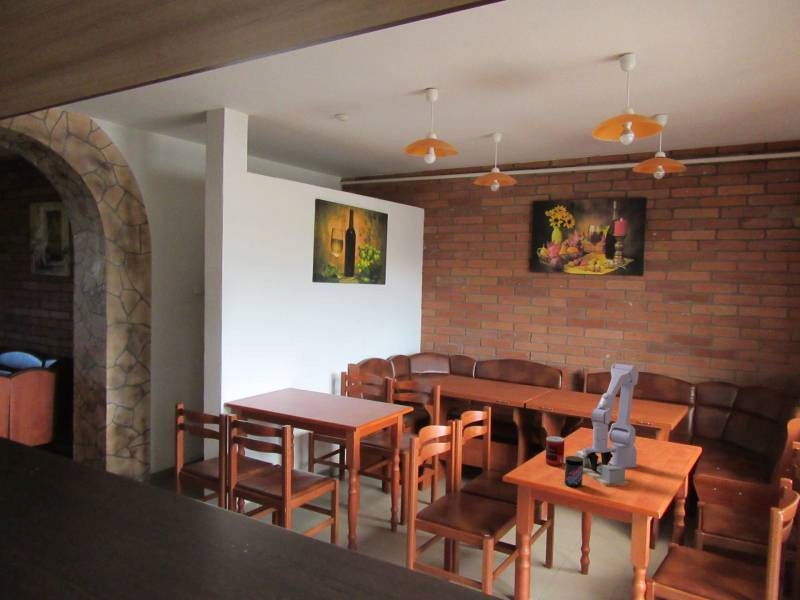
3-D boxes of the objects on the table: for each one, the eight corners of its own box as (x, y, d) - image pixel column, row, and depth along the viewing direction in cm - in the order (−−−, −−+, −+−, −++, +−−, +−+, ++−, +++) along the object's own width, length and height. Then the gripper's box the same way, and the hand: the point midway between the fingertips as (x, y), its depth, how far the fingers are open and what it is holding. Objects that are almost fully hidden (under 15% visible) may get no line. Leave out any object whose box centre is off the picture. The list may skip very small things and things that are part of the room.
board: (569, 464, 249) (569, 462, 249) (590, 463, 251) (590, 460, 251) (606, 486, 223) (606, 483, 223) (628, 484, 226) (628, 482, 226)
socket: (601, 478, 229) (602, 465, 229) (616, 477, 231) (617, 464, 230) (609, 483, 224) (610, 469, 224) (624, 482, 225) (625, 468, 225)
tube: (579, 463, 247) (579, 453, 247) (587, 462, 248) (587, 453, 248) (605, 478, 229) (605, 468, 229) (614, 477, 230) (614, 467, 230)
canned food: (562, 461, 253) (563, 436, 253) (565, 467, 245) (565, 441, 245) (544, 460, 254) (545, 435, 254) (546, 465, 246) (547, 440, 246)
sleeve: (575, 463, 247) (576, 451, 247) (589, 462, 249) (590, 450, 249) (582, 467, 242) (582, 454, 242) (596, 466, 244) (596, 453, 244)
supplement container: (561, 485, 223) (562, 458, 223) (568, 480, 229) (569, 454, 228) (578, 489, 219) (579, 462, 219) (584, 484, 225) (585, 458, 224)
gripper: (610, 434, 242) (608, 466, 242) (579, 435, 238) (578, 468, 238) (620, 439, 235) (619, 471, 235) (588, 440, 231) (587, 473, 232)
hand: (599, 470), depth 236 cm, fingers closed on tube, 4 cm apart
